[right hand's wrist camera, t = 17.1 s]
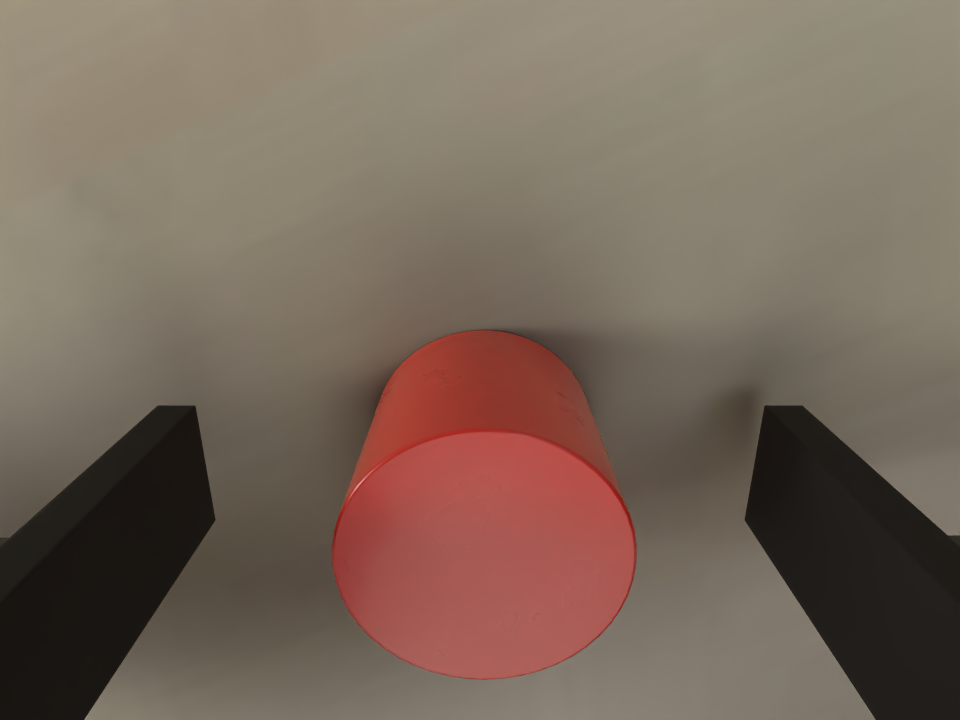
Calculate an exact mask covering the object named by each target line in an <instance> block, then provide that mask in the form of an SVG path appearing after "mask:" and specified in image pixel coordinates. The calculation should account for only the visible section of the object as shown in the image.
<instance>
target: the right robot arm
mask: <svg viewBox="0 0 960 720" xmlns="http://www.w3.org/2000/svg"><path fill="white" fill-rule="evenodd" d="M214 521H215V515H214V509H213V504H212V498H211V492H210V487H209V481H208V475H207V469H206V464H205V458H204V452H203V446H202V441H201V435H200V429H199V423H198V418H197V412H196V406H157V407H156V408H155V409H154V410H152V411H151V412H150V413H149V414H148V415H147V416H146V417H145V418H143V419H142V420H141V421H140V422H139V423H138V424H137V425H136V426H134V427H133V428H132V429H131V430H130V431H129V432H128V433H127V434H126V435H124V436H123V437H122V438H121V439H120V440H119V441H118V442H117V443H115V444H114V445H113V446H112V447H111V448H110V449H109V450H108V451H107V452H105V453H104V454H103V455H102V456H101V457H100V458H99V459H98V460H96V461H95V462H94V463H93V464H92V465H91V466H90V467H89V468H87V469H86V470H85V471H84V472H83V473H82V474H81V475H80V476H79V477H77V478H76V479H75V480H74V481H73V482H72V483H71V484H70V485H68V486H67V487H66V488H65V489H64V490H63V491H62V492H61V493H60V494H58V495H57V496H56V497H55V498H54V499H53V500H52V501H51V502H49V503H48V504H47V505H46V506H45V507H44V508H43V509H42V510H40V511H39V512H38V513H37V514H36V515H35V516H34V517H33V518H32V519H30V520H29V521H28V522H27V523H26V524H25V525H24V526H23V527H21V528H20V529H19V530H18V531H17V532H16V533H15V534H14V535H13V536H11V537H10V538H0V720H84V719H85V718H86V716H87V714H88V713H89V711H90V710H91V708H92V707H93V705H94V704H95V702H96V701H97V699H98V698H99V696H100V695H101V693H102V692H103V690H104V689H105V687H106V686H107V684H108V683H109V681H110V679H111V678H112V676H113V675H114V673H115V672H116V670H117V669H118V667H119V666H120V664H121V663H122V661H123V660H124V658H125V657H126V655H127V654H128V652H129V651H130V649H131V648H132V646H133V645H134V643H135V641H136V640H137V638H138V637H139V635H140V634H141V632H142V631H143V629H144V628H145V626H146V625H147V623H148V622H149V620H150V619H151V617H152V616H153V614H154V613H155V611H156V610H157V608H158V607H159V605H160V603H161V602H162V600H163V599H164V597H165V596H166V594H167V593H168V591H169V590H170V588H171V587H172V585H173V584H174V582H175V581H176V579H177V578H178V576H179V575H180V573H181V572H182V570H183V569H184V567H185V565H186V564H187V562H188V561H189V559H190V558H191V556H192V555H193V553H194V552H195V550H196V549H197V547H198V546H199V544H200V543H201V541H202V540H203V538H204V537H205V535H206V534H207V532H208V531H209V529H210V527H211V526H212V524H213V523H214ZM745 521H746V523H747V524H748V526H749V527H750V529H751V530H752V532H753V534H754V535H755V537H756V538H757V540H758V541H759V543H760V544H761V546H762V547H763V549H764V550H765V552H766V553H767V555H768V556H769V558H770V559H771V561H772V562H773V564H774V565H775V567H776V568H777V570H778V572H779V573H780V575H781V576H782V578H783V579H784V581H785V582H786V584H787V585H788V587H789V588H790V590H791V591H792V593H793V594H794V596H795V597H796V599H797V600H798V602H799V603H800V605H801V606H802V608H803V610H804V611H805V613H806V614H807V616H808V617H809V619H810V620H811V622H812V623H813V625H814V626H815V628H816V629H817V631H818V632H819V634H820V635H821V637H822V638H823V640H824V641H825V643H826V645H827V646H828V648H829V649H830V651H831V652H832V654H833V655H834V657H835V658H836V660H837V661H838V663H839V664H840V666H841V667H842V669H843V670H844V672H845V673H846V675H847V676H848V678H849V679H850V681H851V683H852V684H853V686H854V687H855V689H856V690H857V692H858V693H859V695H860V696H861V698H862V699H863V701H864V702H865V704H866V705H867V707H868V708H869V710H870V711H871V713H872V714H873V716H874V717H875V719H876V720H960V536H948V535H946V534H945V533H944V532H943V531H942V530H941V529H940V528H939V527H937V526H936V525H935V524H934V523H933V522H932V521H931V520H930V519H928V518H927V517H926V516H925V515H924V514H923V513H922V512H921V511H920V510H918V509H917V508H916V507H915V506H914V505H913V504H912V503H911V502H909V501H908V500H907V499H906V498H905V497H904V496H903V495H902V494H901V493H899V492H898V491H897V490H896V489H895V488H894V487H893V486H892V485H890V484H889V483H888V482H887V481H886V480H885V479H884V478H883V477H881V476H880V475H879V474H878V473H877V472H876V471H875V470H874V469H873V468H871V467H870V466H869V465H868V464H867V463H866V462H865V461H864V460H862V459H861V458H860V457H859V456H858V455H857V454H856V453H855V452H854V451H852V450H851V449H850V448H849V447H848V446H847V445H846V444H845V443H843V442H842V441H841V440H840V439H839V438H838V437H837V436H836V435H834V434H833V433H832V432H831V431H830V430H829V429H828V428H827V427H826V426H824V425H823V424H822V423H821V422H820V421H819V420H818V419H817V418H815V417H814V416H813V415H812V414H811V413H810V412H809V411H808V410H807V409H805V408H804V407H803V406H764V412H763V418H762V423H761V429H760V435H759V441H758V446H757V452H756V458H755V464H754V469H753V475H752V481H751V487H750V492H749V498H748V504H747V510H746V515H745Z"/></svg>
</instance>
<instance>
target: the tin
mask: <svg viewBox="0 0 960 720" xmlns="http://www.w3.org/2000/svg"><path fill="white" fill-rule="evenodd" d="M636 555H637V545H636V538H635V531H634V527H633V524H632V520H631V517H630V514H629V511H628V509H627V506H626V503H625V501H624V498H623V495H622V493H621V490H620V487H619V485H618V482H617V479H616V477H615V474H614V471H613V469H612V466H611V463H610V461H609V458H608V455H607V453H606V450H605V447H604V445H603V442H602V439H601V437H600V434H599V431H598V429H597V426H596V423H595V421H594V418H593V415H592V413H591V410H590V407H589V405H588V402H587V399H586V397H585V394H584V392H583V390H582V388H581V386H580V384H579V382H578V380H577V379H576V377H575V376H574V374H573V373H572V371H571V370H570V369H569V368H568V367H567V366H566V365H565V364H564V362H563V361H562V360H560V359H559V358H558V357H557V356H556V355H554V354H553V353H552V352H551V351H549V350H548V349H546V348H544V347H543V346H541V345H540V344H538V343H536V342H533V341H531V340H529V339H527V338H524V337H521V336H518V335H515V334H511V333H506V332H500V331H489V330H477V331H466V332H461V333H456V334H452V335H449V336H446V337H443V338H440V339H437V340H435V341H433V342H431V343H429V344H427V345H425V346H424V347H422V348H420V349H419V350H417V351H416V352H414V353H413V354H412V355H411V356H410V357H408V358H407V359H406V360H405V361H404V362H403V363H402V364H401V365H400V366H399V367H398V369H397V370H396V371H395V372H394V373H393V375H392V376H391V378H390V379H389V381H388V383H387V384H386V386H385V389H384V391H383V393H382V395H381V398H380V400H379V403H378V406H377V409H376V412H375V414H374V417H373V420H372V423H371V426H370V429H369V431H368V434H367V437H366V440H365V443H364V445H363V448H362V451H361V454H360V457H359V460H358V462H357V465H356V468H355V471H354V474H353V476H352V479H351V482H350V485H349V488H348V490H347V493H346V496H345V499H344V502H343V505H342V507H341V510H340V513H339V516H338V519H337V523H336V526H335V530H334V535H333V543H332V565H333V570H334V575H335V581H336V584H337V586H338V589H339V592H340V595H341V598H342V599H343V601H344V603H345V605H346V607H347V609H348V611H349V612H350V614H351V615H352V616H353V618H354V619H355V621H356V622H357V623H358V625H359V626H360V627H361V628H362V629H363V630H364V631H365V632H366V633H367V634H368V635H369V636H370V637H371V638H372V639H373V640H374V641H375V642H377V643H378V644H379V645H380V646H382V647H383V648H384V649H386V650H387V651H389V652H390V653H392V654H393V655H395V656H397V657H398V658H400V659H402V660H404V661H406V662H408V663H410V664H412V665H414V666H417V667H420V668H423V669H425V670H428V671H431V672H435V673H439V674H443V675H447V676H452V677H459V678H466V679H501V678H509V677H515V676H522V675H526V674H529V673H533V672H537V671H540V670H543V669H546V668H548V667H551V666H553V665H556V664H558V663H560V662H562V661H564V660H566V659H568V658H570V657H572V656H573V655H575V654H576V653H578V652H579V651H581V650H582V649H584V648H585V647H587V646H588V645H589V644H590V643H592V642H593V641H594V640H595V639H596V638H598V637H599V636H600V635H601V634H602V633H603V631H604V630H605V629H606V628H607V627H608V626H609V625H610V624H611V623H612V621H613V620H614V618H615V617H616V615H617V614H618V613H619V611H620V610H621V608H622V606H623V604H624V602H625V600H626V598H627V596H628V593H629V590H630V588H631V585H632V582H633V578H634V573H635V567H636Z"/></svg>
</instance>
